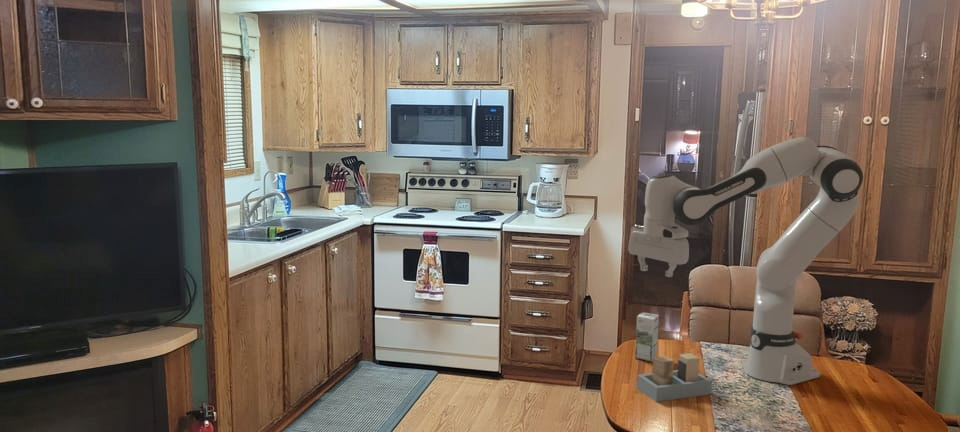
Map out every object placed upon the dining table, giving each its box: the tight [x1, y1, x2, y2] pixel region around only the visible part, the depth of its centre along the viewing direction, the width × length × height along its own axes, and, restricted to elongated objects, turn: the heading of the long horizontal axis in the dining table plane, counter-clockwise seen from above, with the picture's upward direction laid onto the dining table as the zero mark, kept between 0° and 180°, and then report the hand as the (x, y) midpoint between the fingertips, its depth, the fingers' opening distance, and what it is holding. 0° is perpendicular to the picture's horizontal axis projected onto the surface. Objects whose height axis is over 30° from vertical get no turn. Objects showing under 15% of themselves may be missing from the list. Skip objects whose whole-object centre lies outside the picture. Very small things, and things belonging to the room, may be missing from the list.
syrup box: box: [634, 312, 660, 363], centre depth 221 cm, size 6×6×14 cm
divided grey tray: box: [636, 352, 713, 403], centre depth 195 cm, size 18×10×10 cm, turn 108°
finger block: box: [651, 355, 675, 386], centre depth 194 cm, size 4×4×9 cm
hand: (656, 273), depth 206 cm, fingers open, 8 cm apart
